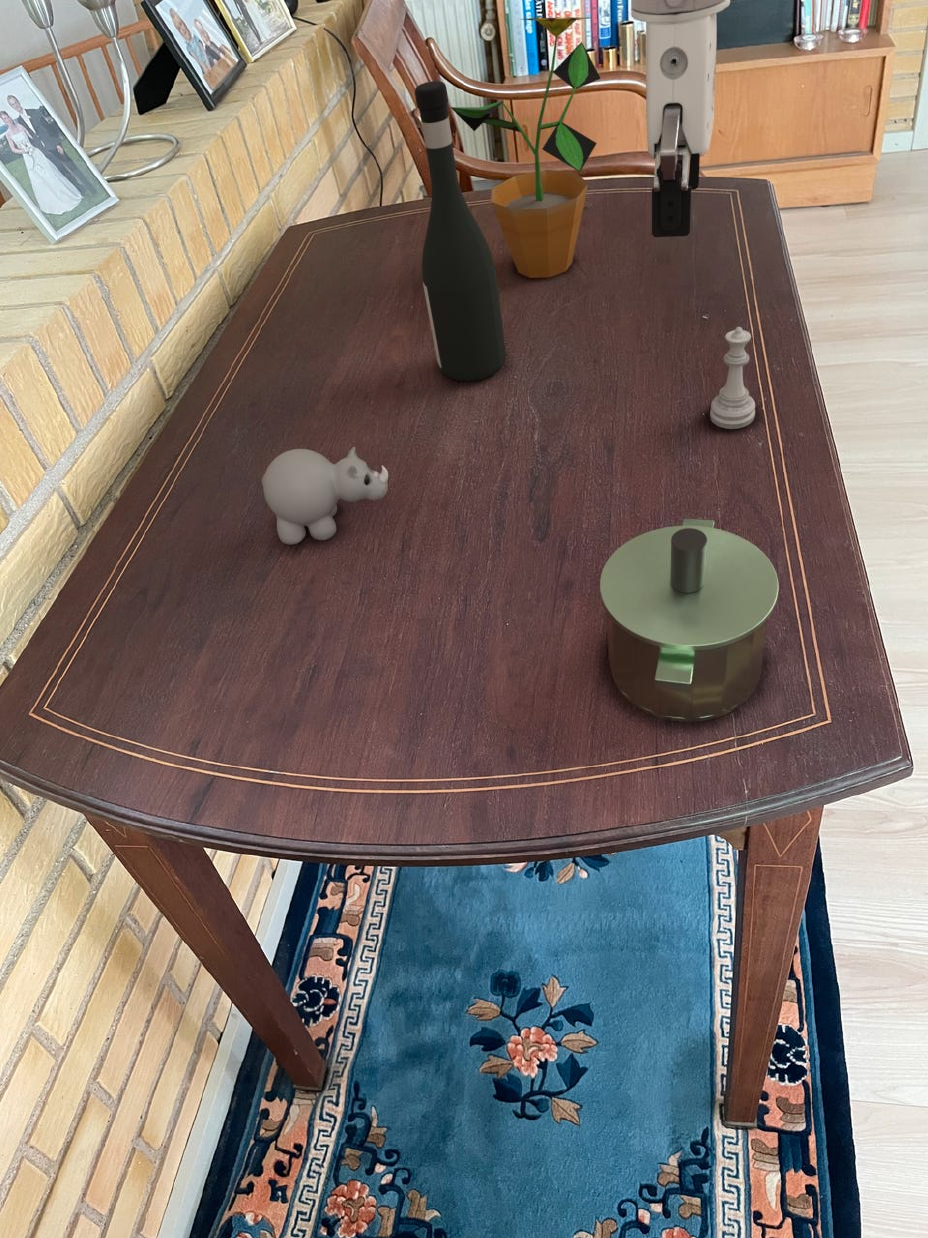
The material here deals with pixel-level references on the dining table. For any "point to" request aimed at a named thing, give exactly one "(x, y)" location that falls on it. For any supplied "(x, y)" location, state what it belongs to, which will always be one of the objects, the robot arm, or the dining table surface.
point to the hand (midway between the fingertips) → (676, 211)
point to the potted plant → (544, 175)
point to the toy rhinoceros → (316, 491)
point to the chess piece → (734, 387)
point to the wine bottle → (456, 259)
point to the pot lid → (689, 587)
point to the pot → (685, 672)
